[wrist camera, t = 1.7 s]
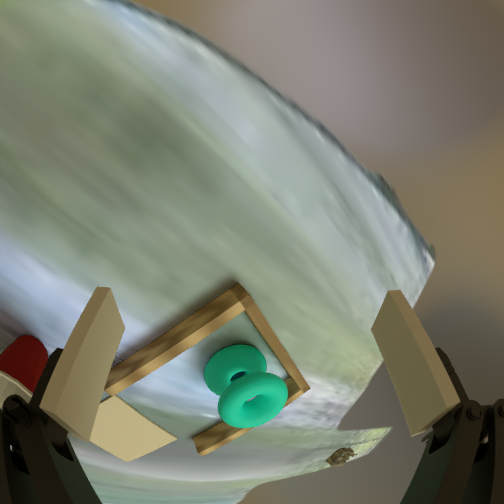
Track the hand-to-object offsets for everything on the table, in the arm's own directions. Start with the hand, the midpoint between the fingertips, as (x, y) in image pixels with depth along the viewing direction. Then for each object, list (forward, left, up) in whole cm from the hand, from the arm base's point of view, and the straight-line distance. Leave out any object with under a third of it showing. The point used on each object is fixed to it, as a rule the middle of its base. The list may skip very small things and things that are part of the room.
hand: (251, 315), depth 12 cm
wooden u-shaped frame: (+1, -24, -22) cm, 33 cm away
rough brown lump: (+36, -81, -23) cm, 92 cm away
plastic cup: (-26, -13, -22) cm, 37 cm away
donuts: (+5, -23, -22) cm, 32 cm away
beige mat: (-18, -33, -22) cm, 44 cm away
